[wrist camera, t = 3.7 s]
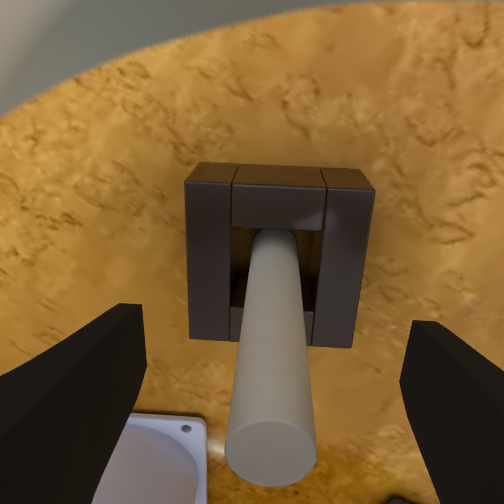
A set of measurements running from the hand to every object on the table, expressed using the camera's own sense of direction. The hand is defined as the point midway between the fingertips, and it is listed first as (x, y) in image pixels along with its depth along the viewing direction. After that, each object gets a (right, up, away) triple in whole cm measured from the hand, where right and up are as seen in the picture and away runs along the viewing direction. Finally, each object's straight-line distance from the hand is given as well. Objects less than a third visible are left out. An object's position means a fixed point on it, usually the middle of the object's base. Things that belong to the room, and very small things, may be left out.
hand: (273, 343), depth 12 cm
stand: (0, +3, +7) cm, 7 cm away
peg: (0, +3, +7) cm, 7 cm away
